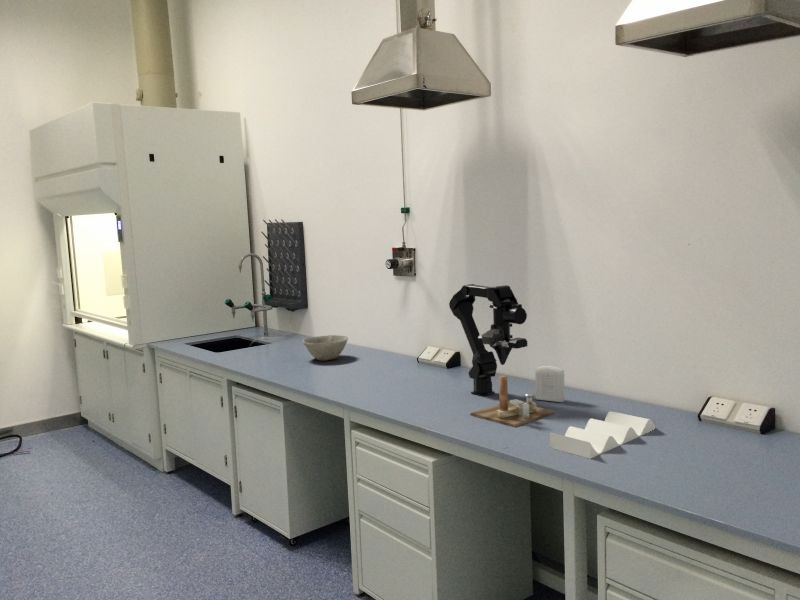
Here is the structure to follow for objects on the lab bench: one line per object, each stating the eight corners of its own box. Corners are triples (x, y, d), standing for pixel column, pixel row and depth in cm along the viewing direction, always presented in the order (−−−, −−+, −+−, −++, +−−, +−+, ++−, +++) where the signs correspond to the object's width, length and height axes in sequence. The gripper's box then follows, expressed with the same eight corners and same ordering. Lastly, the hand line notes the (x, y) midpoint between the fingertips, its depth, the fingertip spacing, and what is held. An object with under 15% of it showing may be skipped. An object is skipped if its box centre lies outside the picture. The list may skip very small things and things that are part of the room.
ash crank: (531, 408, 223) (530, 370, 222) (539, 411, 219) (538, 372, 218) (494, 415, 217) (493, 376, 215) (501, 418, 213) (500, 379, 211)
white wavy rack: (657, 430, 201) (657, 413, 200) (589, 460, 178) (589, 442, 178) (618, 421, 211) (618, 405, 210) (549, 449, 188) (549, 432, 188)
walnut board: (470, 415, 222) (470, 412, 222) (510, 402, 235) (510, 400, 235) (514, 427, 208) (514, 424, 208) (554, 413, 220) (554, 410, 220)
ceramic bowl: (331, 352, 340) (330, 333, 339) (358, 358, 323) (357, 338, 321) (294, 359, 326) (292, 339, 325) (319, 366, 309) (318, 345, 307)
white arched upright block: (566, 400, 236) (565, 365, 234) (562, 403, 232) (562, 368, 230) (537, 397, 241) (537, 363, 239) (533, 400, 237) (533, 366, 236)
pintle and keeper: (529, 410, 222) (529, 392, 222) (542, 415, 216) (542, 397, 215) (510, 413, 219) (510, 395, 219) (523, 419, 213) (522, 400, 212)
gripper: (466, 321, 237) (467, 364, 239) (506, 326, 223) (507, 372, 225) (487, 318, 244) (489, 359, 246) (528, 322, 230) (528, 366, 232)
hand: (502, 364), depth 237 cm, fingers closed
